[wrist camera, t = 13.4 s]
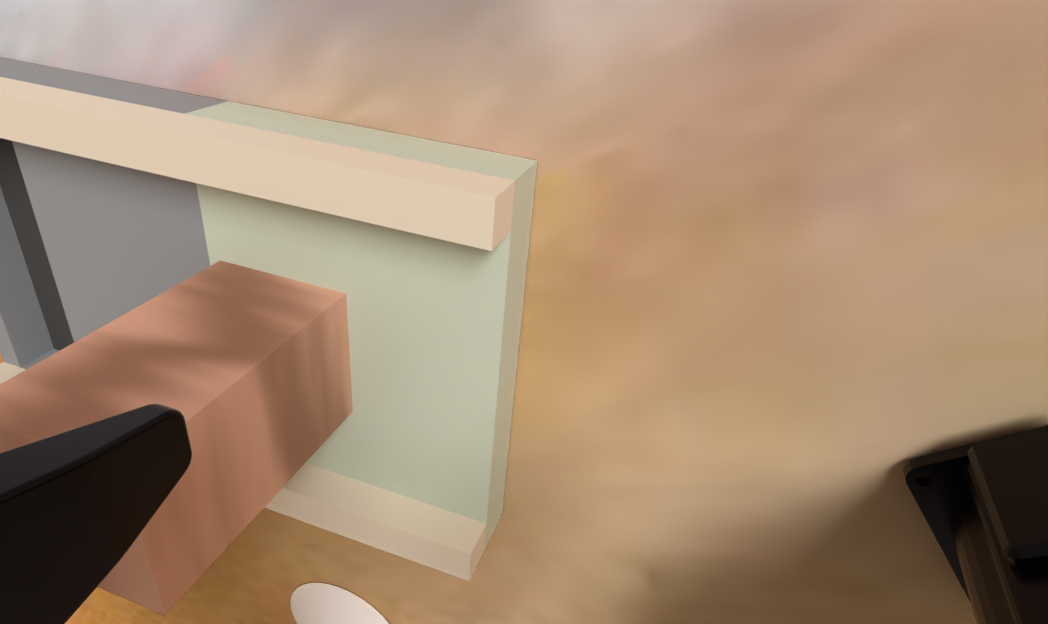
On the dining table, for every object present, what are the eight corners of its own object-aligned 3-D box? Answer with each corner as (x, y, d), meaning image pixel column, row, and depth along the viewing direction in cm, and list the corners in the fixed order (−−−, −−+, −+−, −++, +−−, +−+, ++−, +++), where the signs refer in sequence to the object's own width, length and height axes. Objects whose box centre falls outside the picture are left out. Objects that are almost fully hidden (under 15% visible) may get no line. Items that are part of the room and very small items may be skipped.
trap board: (537, 160, 20) (495, 197, 17) (502, 514, 27) (469, 581, 25) (-56, 46, 25) (-164, 60, 23) (52, 365, 33) (-18, 406, 30)
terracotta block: (346, 293, 22) (122, 472, 15) (352, 411, 25) (164, 615, 17) (220, 260, 23) (-47, 410, 16) (238, 376, 26) (16, 552, 18)
